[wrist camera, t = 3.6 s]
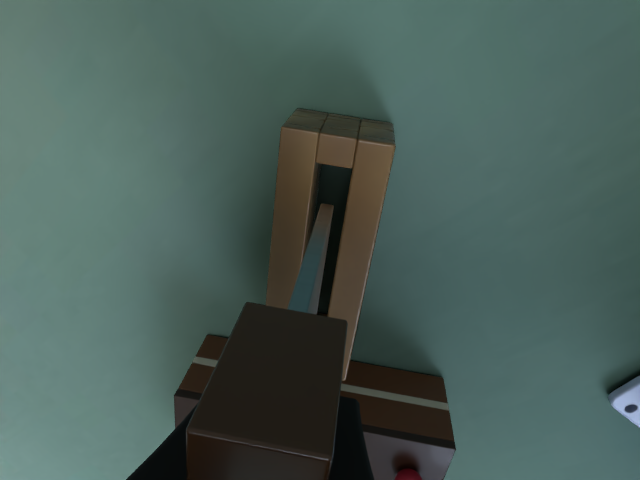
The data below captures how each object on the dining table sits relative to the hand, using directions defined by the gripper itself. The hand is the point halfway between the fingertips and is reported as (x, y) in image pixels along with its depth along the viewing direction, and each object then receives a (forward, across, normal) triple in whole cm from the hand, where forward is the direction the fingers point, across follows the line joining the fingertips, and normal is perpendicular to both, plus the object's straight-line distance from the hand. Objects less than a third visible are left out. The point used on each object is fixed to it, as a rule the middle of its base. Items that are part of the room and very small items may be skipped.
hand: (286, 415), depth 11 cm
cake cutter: (+5, 0, 0) cm, 5 cm away
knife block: (+9, 0, 0) cm, 9 cm away
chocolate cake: (+9, -4, +10) cm, 14 cm away
